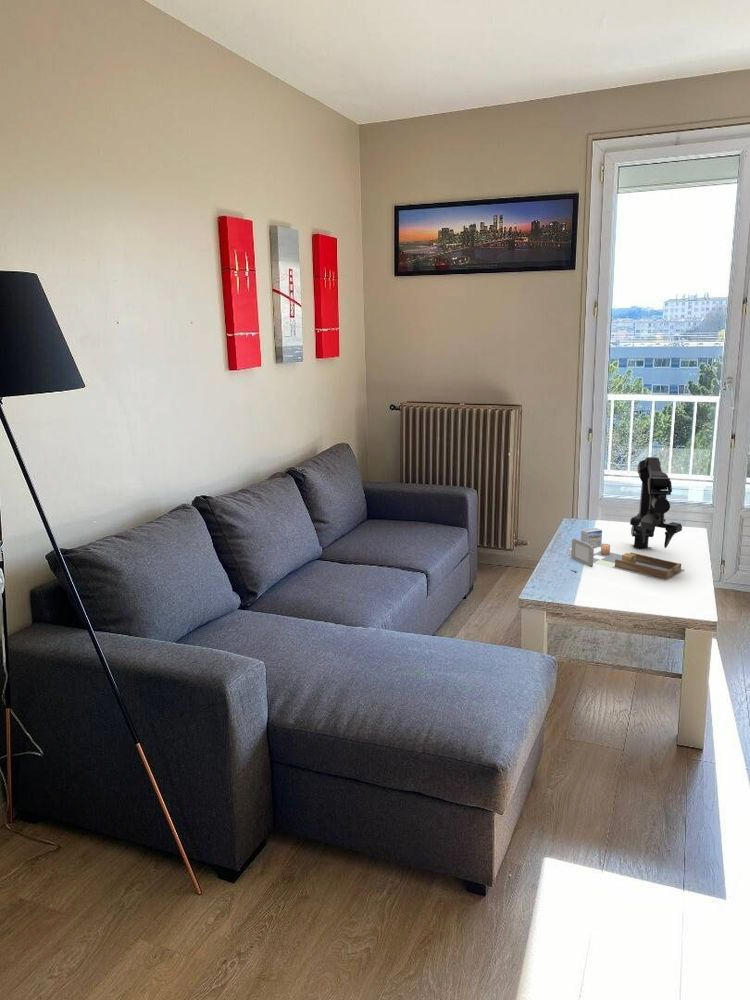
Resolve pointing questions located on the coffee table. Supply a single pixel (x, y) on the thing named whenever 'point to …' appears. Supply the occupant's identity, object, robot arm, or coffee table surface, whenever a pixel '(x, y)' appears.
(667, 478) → the robot arm
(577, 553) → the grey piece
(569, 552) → the cream cube
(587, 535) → the medicine box
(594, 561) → the slate board
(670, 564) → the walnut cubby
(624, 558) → the oak block
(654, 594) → the coffee table surface
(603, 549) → the peach dome
